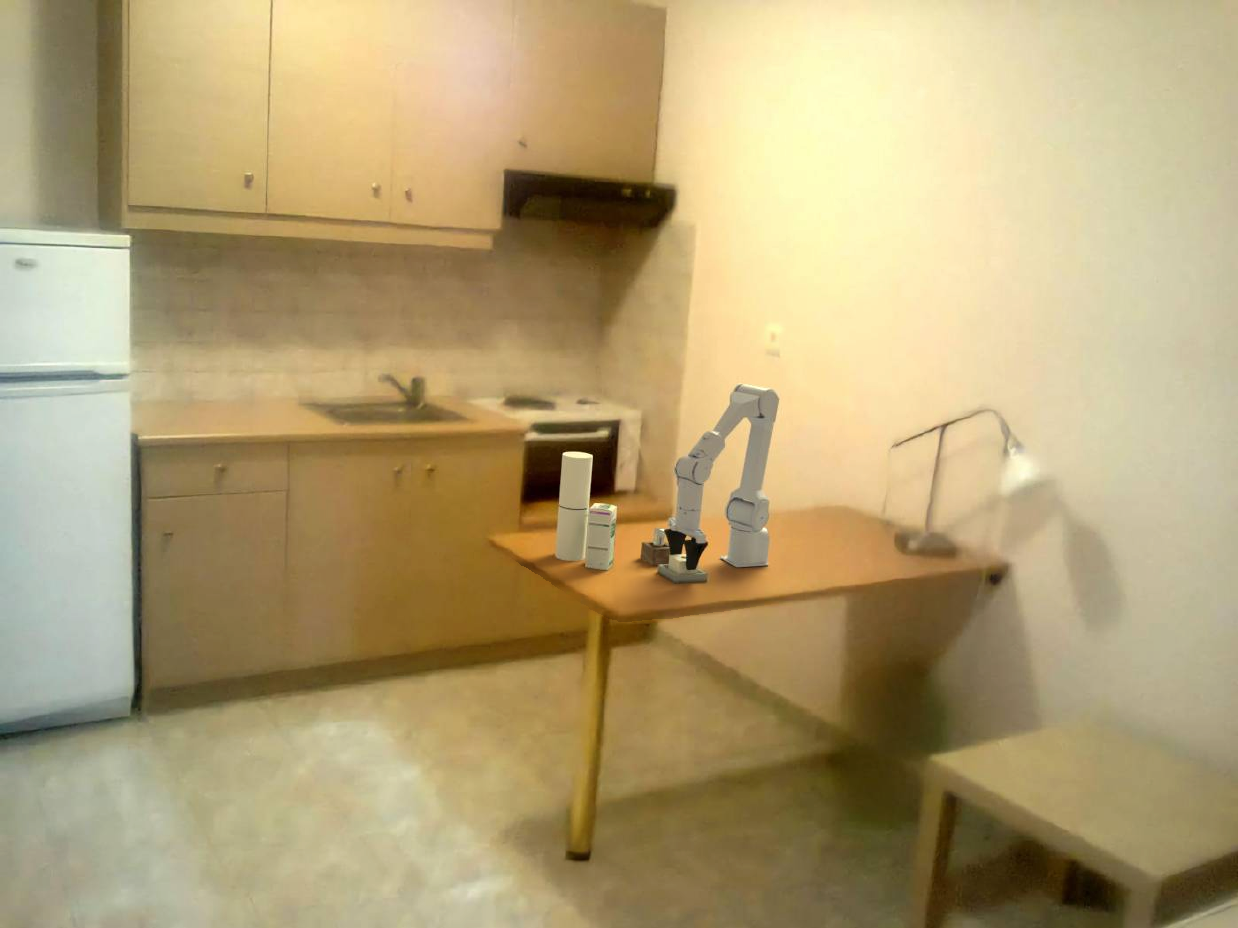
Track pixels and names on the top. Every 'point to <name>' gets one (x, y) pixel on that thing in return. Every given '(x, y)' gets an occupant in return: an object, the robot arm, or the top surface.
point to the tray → (682, 575)
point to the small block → (679, 564)
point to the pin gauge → (658, 538)
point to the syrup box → (600, 536)
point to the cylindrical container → (573, 506)
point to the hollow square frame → (655, 553)
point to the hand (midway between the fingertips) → (683, 564)
